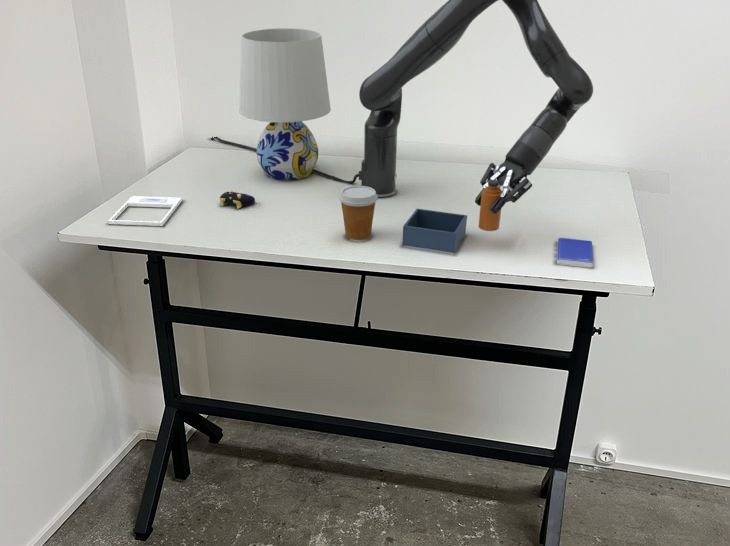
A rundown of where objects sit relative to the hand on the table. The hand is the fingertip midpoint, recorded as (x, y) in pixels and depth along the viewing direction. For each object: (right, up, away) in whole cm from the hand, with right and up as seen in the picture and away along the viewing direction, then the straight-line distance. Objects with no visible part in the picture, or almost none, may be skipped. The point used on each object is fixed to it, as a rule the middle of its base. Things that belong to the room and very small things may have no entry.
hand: (484, 207), depth 170 cm
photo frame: (-88, +4, +25) cm, 92 cm away
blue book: (+22, -11, +3) cm, 25 cm away
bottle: (+2, -4, +4) cm, 6 cm away
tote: (-11, -7, +10) cm, 16 cm away
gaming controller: (-65, +7, +31) cm, 72 cm away
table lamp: (-52, +21, +53) cm, 77 cm away
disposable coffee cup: (-30, -5, +12) cm, 33 cm away
